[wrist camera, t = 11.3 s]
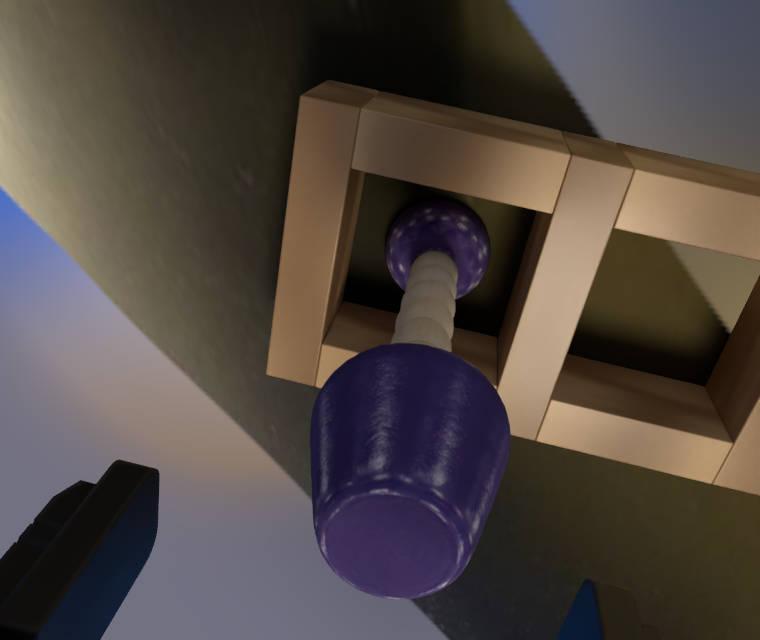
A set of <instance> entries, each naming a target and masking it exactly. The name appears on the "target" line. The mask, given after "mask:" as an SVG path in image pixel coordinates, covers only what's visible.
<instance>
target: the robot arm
mask: <svg viewBox="0 0 760 640" xmlns="http://www.w3.org/2000/svg"><path fill="white" fill-rule="evenodd" d="M158 502H159V471H158V470H157V469H155V468H151V467H147V466H143V465H139V464H135V463H131V462H126V461H123V460H116V461H115V462H114V463H113V464H112V465H111V466H110V467H109V468H108V470H107V471H106V472H105V474H104V475H103V476H102V477H101V479H100V480H99V481H98V482H97V484H93V483H89V482H85V481H81V480H80V481H78V482H77V483H75V484H74V485H72V486H70V487H69V488H67V489H65V490H64V491H62V492H61V493H59V494H57V495H55V496H54V497H53V498H52V499H51V500H50V501H49V503H48V504H47V505H46V506H45V507H44V508H43V510H42V511H41V512H40V513H39V514H38V515H37V517H36V518H35V519H34V522H33V524H30V525H29V526H28V527H27V528H26V530H25V531H24V532H23V533H22V534H21V535H20V537H19V539H18V541H17V543H16V542H15V543H14V544H13V545H12V546H11V547H10V549H9V550H8V551H7V552H6V553H5V554H4V556H3V557H2V558H1V559H0V640H100V639H101V637H102V636H103V634H104V632H105V631H106V629H107V627H108V626H109V624H110V622H111V621H112V619H113V617H114V616H115V614H116V612H117V611H118V609H119V607H120V606H121V604H122V602H123V600H124V599H125V597H126V595H127V594H128V592H129V590H130V589H131V587H132V585H133V584H134V582H135V580H136V578H137V577H138V575H139V573H140V572H141V570H142V568H143V567H144V565H145V563H146V561H147V560H148V558H149V556H150V553H151V551H152V548H153V545H154V542H155V538H156V534H157V527H158V504H159V503H158ZM557 640H664V638H663V636H662V635H661V633H660V632H659V630H658V629H657V627H653V626H649V625H645V624H641V623H640V620H639V616H638V611H637V607H636V603H635V599H634V595H633V593H632V591H631V590H630V589H628V588H624V587H620V586H616V585H612V584H608V583H604V582H600V581H596V580H592V579H586V580H585V581H584V582H583V584H582V586H581V588H580V590H579V592H578V594H577V596H576V598H575V600H574V602H573V605H572V607H571V609H570V611H569V613H568V615H567V617H566V619H565V621H564V624H563V626H562V628H561V630H560V632H559V635H558V639H557Z"/></svg>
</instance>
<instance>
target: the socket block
mask: <svg viewBox="0 0 760 640" xmlns="http://www.w3.org/2000/svg"><path fill="white" fill-rule="evenodd" d="M365 172H368V173H372V174H377V175H381V176H386V177H390V178H395V179H399V180H403V181H408V182H412V183H417V184H421V185H425V186H430V187H434V188H439V189H443V190H448V191H452V192H456V193H461V194H465V195H470V196H474V197H479V198H483V199H487V200H492V201H496V202H501V203H505V204H510V205H514V206H518V207H523V208H527V209H532V210H536V215H535V218H534V221H533V224H532V228H531V231H530V234H529V237H528V241H527V244H526V247H525V251H524V254H523V257H522V260H521V264H520V267H519V270H518V273H517V277H516V280H515V283H514V287H513V290H512V293H511V296H510V300H509V303H508V306H507V309H506V313H505V316H504V319H503V323H502V326H501V329H500V332H499V336H498V339H497V337H494V336H490V335H485V334H481V333H477V332H473V331H468V330H464V329H460V328H456V327H454V329H453V335H452V338H451V340H450V341H451V349H452V351H451V353H453V354H455V355H457V356H459V357H462V358H463V359H464V360H466V361H467V362H468V363H469V364H471V365H473V366H475V367H476V368H477V369H479V370H480V371H481V373H483V374H484V375H485V376H486V377H487V379H488V380H489V381H490V382H491V384H492V385H493V386H494V387H495V389H496V390H497V392H498V394H499V396H500V397H501V400H502V402H503V404H504V405H505V408H506V411H507V415H508V419H509V424H510V433H511V435H514V436H518V437H522V438H526V439H530V440H536V441H538V442H543V443H547V444H551V445H555V446H559V447H563V448H567V449H571V450H575V451H579V452H583V453H587V454H591V455H596V456H600V457H604V458H608V459H612V460H616V461H620V462H624V463H628V464H632V465H636V466H640V467H644V468H648V469H653V470H657V471H661V472H665V473H669V474H673V475H677V476H681V477H685V478H689V479H693V480H697V481H701V482H706V483H710V484H711V483H713V484H714V485H718V486H722V487H727V488H731V489H735V490H739V491H743V492H747V493H751V494H755V495H759V496H760V276H759V278H758V280H757V282H756V284H755V286H754V288H753V290H752V292H751V294H750V296H749V299H748V300H747V302H746V304H745V307H744V308H743V311H742V313H741V314H740V317H739V319H738V321H737V323H736V325H735V327H734V329H733V331H732V333H731V335H730V337H729V339H728V341H727V343H726V345H725V347H724V349H723V351H722V353H721V355H720V357H719V359H718V361H717V363H716V365H715V367H714V369H713V371H712V373H711V375H710V377H709V380H708V382H707V384H706V386H705V387H704V386H701V385H696V384H692V383H688V382H684V381H680V380H675V379H671V378H667V377H663V376H658V375H654V374H650V373H646V372H642V371H637V370H633V369H629V368H625V367H621V366H616V365H612V364H608V363H604V362H600V361H595V360H591V359H587V358H583V357H578V356H574V355H570V354H567V352H568V350H569V347H570V344H571V341H572V339H573V336H574V333H575V330H576V328H577V325H578V322H579V320H580V317H581V314H582V311H583V309H584V306H585V303H586V300H587V298H588V295H589V292H590V290H591V287H592V284H593V281H594V279H595V276H596V273H597V270H598V268H599V265H600V262H601V259H602V257H603V254H604V251H605V249H606V246H607V243H608V240H609V238H610V235H611V232H612V229H613V227H614V228H615V229H620V230H624V231H629V232H633V233H638V234H642V235H646V236H651V237H655V238H660V239H664V240H669V241H673V242H677V243H682V244H686V245H691V246H695V247H700V248H704V249H708V250H713V251H717V252H722V253H726V254H731V255H735V256H739V257H744V258H748V259H753V260H757V261H760V174H758V173H753V172H749V171H744V170H740V169H735V168H730V167H726V166H721V165H717V164H712V163H707V162H703V161H698V160H694V159H689V158H685V157H680V156H676V155H671V154H666V153H662V152H657V151H653V150H648V149H644V148H639V147H635V146H630V145H625V144H621V143H615V142H612V141H607V140H603V139H598V138H593V137H589V136H584V135H580V134H575V133H571V132H566V131H560V130H557V129H552V128H548V127H543V126H538V125H534V124H529V123H525V122H520V121H516V120H511V119H506V118H502V117H497V116H493V115H488V114H484V113H479V112H474V111H470V110H465V109H461V108H456V107H452V106H447V105H442V104H438V103H433V102H429V101H424V100H420V99H415V98H410V97H406V96H401V95H397V94H392V93H388V92H383V91H380V92H379V91H378V90H374V89H369V88H364V87H360V86H355V85H351V84H346V83H342V82H337V81H332V80H327V81H325V82H323V83H322V84H320V85H318V86H316V87H314V88H313V89H311V90H309V91H307V92H305V93H304V94H302V95H301V96H300V100H299V108H298V116H297V125H296V133H295V141H294V149H293V157H292V165H291V174H290V182H289V190H288V198H287V206H286V214H285V223H284V231H283V239H282V247H281V255H280V263H279V272H278V280H277V288H276V296H275V304H274V312H273V321H272V329H271V337H270V345H269V353H268V361H267V370H266V374H267V375H270V376H274V377H278V378H282V379H286V380H291V381H295V382H299V383H303V384H307V385H311V386H314V385H315V386H316V387H319V388H322V387H323V385H324V384H325V382H326V381H327V379H328V378H329V377H330V376H331V375H332V373H333V372H334V371H335V370H336V369H338V368H339V367H340V366H341V365H342V364H343V363H344V362H346V361H347V360H348V359H350V358H352V357H354V356H356V355H357V354H359V353H361V352H363V351H366V350H368V349H370V348H374V347H377V346H379V345H389V344H390V343H391V340H392V337H393V335H394V333H395V324H396V319H397V316H398V314H397V313H393V312H388V311H384V310H380V309H376V308H372V307H367V306H363V305H359V304H355V303H351V302H346V301H343V297H344V291H345V285H346V279H347V274H348V268H349V262H350V257H351V251H352V245H353V240H354V234H355V228H356V222H357V217H358V211H359V205H360V200H361V194H362V188H363V183H364V177H365Z"/></svg>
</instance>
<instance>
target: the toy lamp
mask: <svg viewBox="0 0 760 640" xmlns="http://www.w3.org/2000/svg"><path fill="white" fill-rule="evenodd" d="M490 248H491V247H490V241H489V238H488V235H487V232H486V229H485V227H484V225H483V224H482V222H481V221H480V220H479V218H478V217H477V216H476V215H475V214H474V213H472V212H471V211H470V210H468V209H467V208H465V207H463V206H461V205H460V204H457V203H454V202H451V201H445V200H432V201H425V202H422V203H419V204H417V205H414V206H412V207H410V208H408V209H407V210H405V211H404V212H403V213H402V214H401V215H400V216H399V217H398V218H397V219H396V220H395V221H394V223H393V225H392V226H391V228H390V230H389V233H388V236H387V240H386V244H385V254H386V262H387V265H388V269H389V271H390V273H391V275H392V277H393V279H394V281H395V282H396V283H397V284H398V285H399V286H400V287H401V288H402V289H403V290H404V291H405V294H404V296H403V298H402V302H401V310H400V312H399V314H398V316H397V319H396V324H395V333H394V335H393V337H392V340H391V343H390V344H389V345H379V346H377V347H374V348H370V349H368V350H366V351H363V352H361V353H359V354H357V355H356V356H354V357H352V358H350V359H348V360H347V361H346V362H344V363H343V364H342V365H341V366H340V367H339V368H338V369H336V370H335V371H334V372H333V373H332V375H331V376H330V377H329V378H328V379H327V381H326V382H325V384H324V385H323V387H322V389H321V390H320V392H319V394H318V396H317V399H316V401H315V404H314V408H313V412H312V419H311V428H310V448H311V478H312V504H313V521H314V529H315V534H316V538H317V542H318V546H319V549H320V551H321V553H322V555H323V557H324V558H325V560H326V562H327V563H328V565H329V566H330V567H331V568H332V570H333V571H334V572H335V573H336V574H337V575H338V576H339V577H340V578H342V579H343V580H344V581H346V582H347V583H348V584H350V585H351V586H353V587H355V588H357V589H358V590H360V591H363V592H365V593H368V594H371V595H373V596H377V597H382V598H388V599H414V598H419V597H423V596H427V595H431V594H433V593H435V592H437V591H440V590H442V589H443V588H445V587H446V586H447V585H449V584H450V583H451V582H453V581H454V580H455V579H456V578H457V577H458V576H459V575H460V574H461V573H462V572H463V570H464V569H465V567H466V565H467V564H468V562H469V560H470V558H471V556H472V554H473V552H474V550H475V548H476V545H477V543H478V540H479V538H480V535H481V533H482V530H483V528H484V525H485V523H486V520H487V517H488V515H489V512H490V510H491V507H492V505H493V502H494V499H495V496H496V493H497V491H498V488H499V485H500V482H501V480H502V477H503V474H504V471H505V468H506V465H507V462H508V458H509V452H510V447H511V433H510V424H509V419H508V415H507V411H506V408H505V405H504V404H503V402H502V400H501V397H500V396H499V394H498V392H497V390H496V389H495V387H494V386H493V385H492V384H491V382H490V381H489V380H488V379H487V377H486V376H485V375H484V374H483V373H481V371H480V370H479V369H477V368H476V367H475V366H473V365H471V364H469V363H468V362H467V361H466V360H464V359H463V358H462V357H459V356H457V355H455V354H453V353H451V351H452V349H451V341H450V340H451V338H452V335H453V329H454V322H453V318H454V315H455V300H456V299H458V298H461V297H462V296H465V295H466V294H468V293H469V292H470V291H472V290H473V289H474V288H475V287H476V286H477V285H478V283H479V282H480V281H481V279H482V278H483V276H484V274H485V272H486V270H487V268H488V265H489V261H490Z"/></svg>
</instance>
